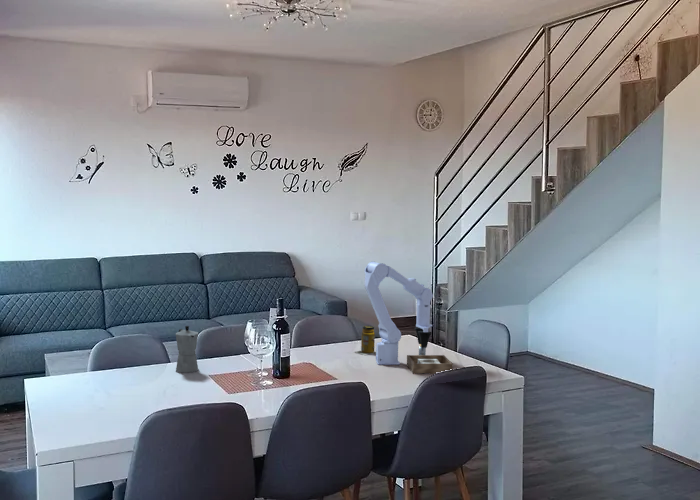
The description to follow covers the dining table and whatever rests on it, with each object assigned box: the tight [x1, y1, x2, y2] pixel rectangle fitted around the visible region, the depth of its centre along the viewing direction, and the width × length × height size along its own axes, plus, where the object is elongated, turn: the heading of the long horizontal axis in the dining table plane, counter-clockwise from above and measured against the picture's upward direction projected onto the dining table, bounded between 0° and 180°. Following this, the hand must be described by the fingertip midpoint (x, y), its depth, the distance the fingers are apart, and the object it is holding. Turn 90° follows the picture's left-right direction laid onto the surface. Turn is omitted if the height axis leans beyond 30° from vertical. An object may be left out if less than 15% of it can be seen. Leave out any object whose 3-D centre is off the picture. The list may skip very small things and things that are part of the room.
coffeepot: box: [175, 325, 199, 374], centre depth 282 cm, size 15×9×18 cm, turn 33°
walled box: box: [406, 354, 454, 375], centre depth 292 cm, size 16×16×4 cm
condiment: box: [354, 325, 376, 356], centre depth 320 cm, size 7×8×12 cm
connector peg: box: [418, 344, 427, 355], centre depth 308 cm, size 3×3×7 cm
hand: (422, 345), depth 307 cm, fingers open, 7 cm apart
